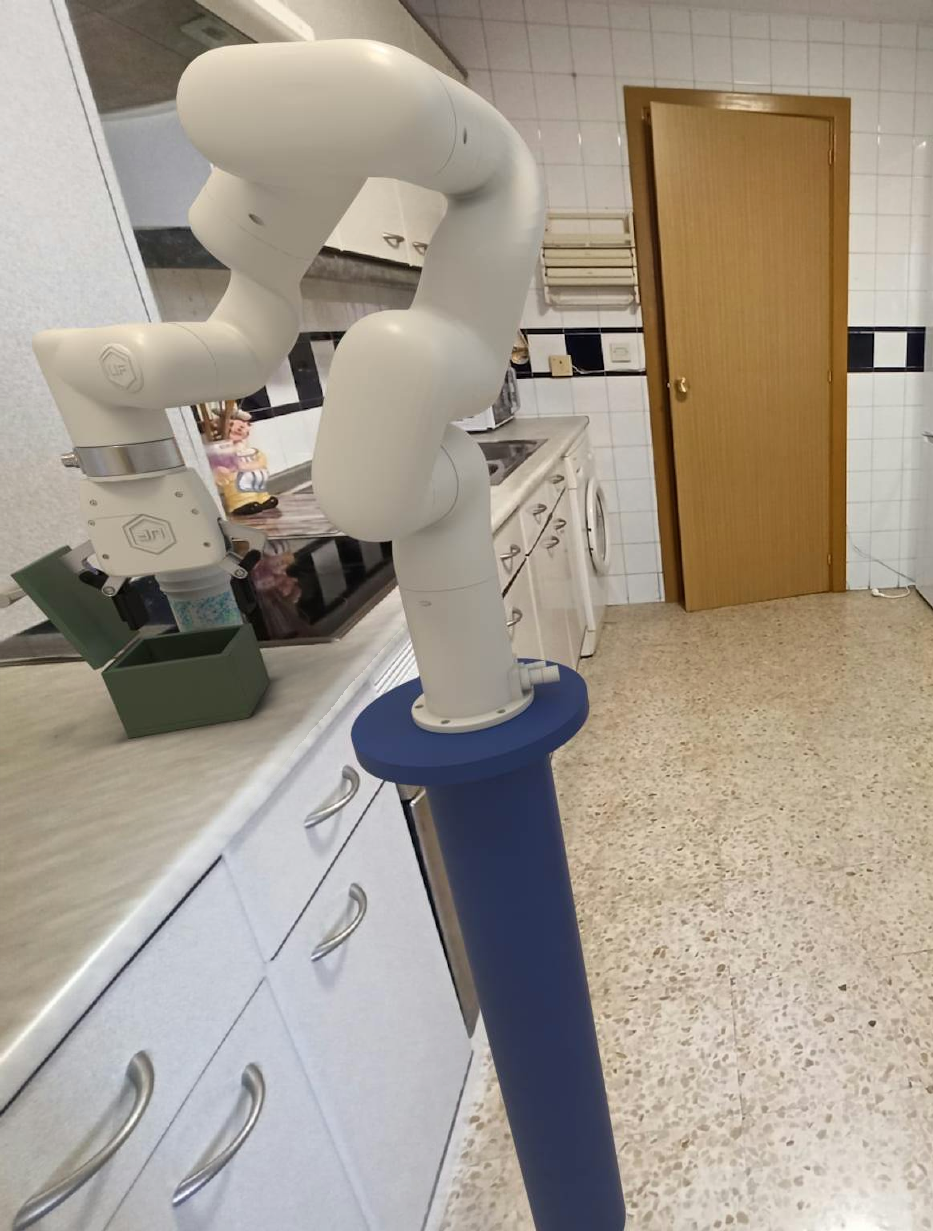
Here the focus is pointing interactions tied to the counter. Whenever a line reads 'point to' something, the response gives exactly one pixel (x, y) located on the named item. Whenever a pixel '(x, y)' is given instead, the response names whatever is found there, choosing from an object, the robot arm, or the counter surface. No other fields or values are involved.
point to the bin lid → (71, 608)
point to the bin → (187, 679)
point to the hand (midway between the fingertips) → (196, 617)
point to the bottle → (200, 598)
